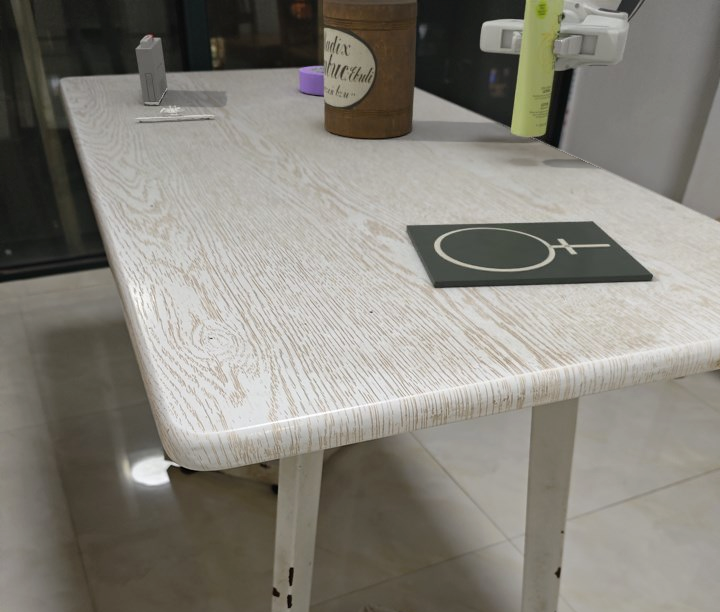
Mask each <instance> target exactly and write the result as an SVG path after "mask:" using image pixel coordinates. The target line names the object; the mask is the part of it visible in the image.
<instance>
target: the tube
mask: <svg viewBox="0 0 720 612" xmlns="http://www.w3.org/2000/svg"><path fill="white" fill-rule="evenodd" d="M563 4H564V0H525V8H524V15H523V16H524V17H523V20H524V25H523V33H522V42H521V51H520V55H519V59H518V68H517V76H516V83H515V94H514V102H513V110H512V117H511V118H512V119H511V127H510V133H511V134H512V135H514V136H517V137H522V138H536V137H537V138H538V137H542V136H544V135H545V134H546V131H547V126H548V118H549V111H550V105H551V99H552V98H551V97H552V91H553V84H554V83H553V82H554V75H555V62H556V55H554V54H553V49H554V48H555V47H554V42H555V39H557V38H559V34H560V26H561V19H562V12H563Z"/></svg>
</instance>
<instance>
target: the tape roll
mask: <svg viewBox="0 0 720 612" xmlns="http://www.w3.org/2000/svg"><path fill="white" fill-rule="evenodd" d="M298 72H299V91H300V92H301V93H304V94H307V95H314V96H324V65H312V66H305V67H301V68H299V71H298Z"/></svg>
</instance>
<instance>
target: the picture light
mask: <svg viewBox="0 0 720 612" xmlns="http://www.w3.org/2000/svg"><path fill="white" fill-rule="evenodd" d="M176 106H177V105H173V107H174V108H173V107H172V106H171V105H169V108H167V107H166V108H165V107H163V108H162V109H161V110H160V114H161V115H162V114H170V115H169V116H151V117H150V116H149V117H148V116H147V117H136V118H135V119H150V118H151V119H152V118H154V119H155V118H186V117H214V118H216V115H215V114H193V115H192V114H191V115H181V116H179V115H178V114H179V113H183V114H185V110H184V109H183V108H181V107H176Z"/></svg>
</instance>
